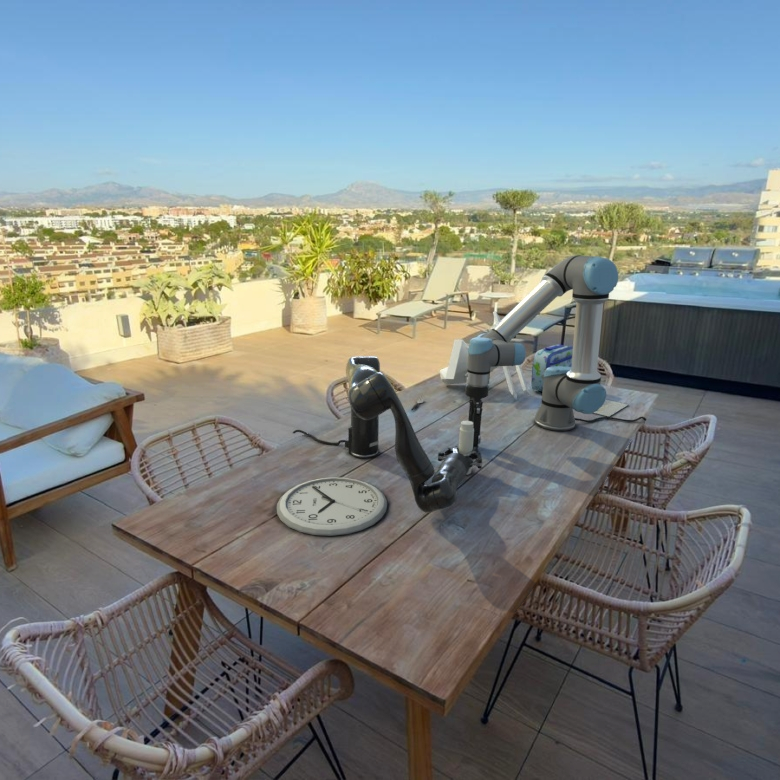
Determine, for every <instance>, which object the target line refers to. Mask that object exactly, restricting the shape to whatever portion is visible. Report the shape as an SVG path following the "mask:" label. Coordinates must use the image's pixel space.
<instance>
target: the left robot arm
mask: <svg viewBox="0 0 780 780" xmlns="http://www.w3.org/2000/svg"><path fill="white" fill-rule="evenodd" d="M345 376H346V380H347V383H348V389H347V390H348V391H347V398H348V399H347V400H348V403H349V405H350V425H349V426H348V427H347V429H348V431H347V432H348V437H347V438H345V439H340V440H338V442H331V441H325V440H323V439H322V440H321V439H318V438H317V437H315V436H314V435H312V434H311V433H308V432H306V431H304V430H301V429H294V431H292V434H296V433H301V434H303V435H305V436H307V437H309V438H312V439H313V440H314V441H316V442H317V443H321V444H324V445H329V446H340V444H341V443H344V448H347V449H348V454H349V455H352V456H353V457H355V458H359V459H369V458H370V459H371V458H374V457H376V456H378V455H379V444H380V440H379V434H380V433H379V432H380V431H379V430H380V429H379V427H380V426H379V425H380V424H379V421H380V419H379V417H380V415H382V414H383V413H385V412H387V411H388V410H390V411H391V413H392V415H393V419H394V423H395V428H394V429H395V438H394V449H395V450H394V451H395V457H396V459H397V462H398V464H399V465H400V467H401V468H402V471H403V472H404V473H405V475H406V477H407V478H408V480H409V484H410V486H411V489H412V492H413V496H414V501H415V505H416V507H417V508H418V509H419V510H420V511H422V512H423V513H426V514H429V513H434V512H437V511H441V510H444V509H447V508H450V507H452V506H453V505H455V503H456V502H457V496H458V495H457V492H458V487H459V485H460V484H462V482H463V481H464V479H465V478H466V474H467V472H468V470H469V468H471V469H472V468H473V466H475V467H477V469H483V468H482V467H483V456H482V452H479V449H477V447H474V448H473V450H472V452H467V453H466V454H460V453H458V449H459V443H458V444H456V445H455V446H454V447H452V448H451V447H446V448H444V449H442V450H441V451H438V452H437V461H438V462H441V463H440V465H439V467H438V468H437V471H436V472H435V467H434V465H433V462H432V461H431V460H430V458H429V456H428V454H427V453H426V451H425V450H424V448H423V446H422V444H421V442H420V441H419V438H418V437H417V434H416V432H415V429H414V428H413V426H412V425H413V424H412V422H411V421H410V418H409V416H408V414H407V412H406V409H405V407H404V406H403V403H402V402H401V399H400V397H399V395H398V394H397V391H396V390H395V388H394V385H392V382H391V381H390V380H389V378H388V377H387V376H386V375H385V374H384V373H382V372H381V363H380V360H379V358H378V357H377V356H372V355H371V356H370V355H369V356H351V357H350V358H349V359H348V360H347V362H346V365H345ZM307 433H308V434H307ZM467 475H468V474H467ZM430 479H431V483H428V484H427V482H428V481H429V480H430Z"/></svg>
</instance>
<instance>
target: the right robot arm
mask: <svg viewBox="0 0 780 780" xmlns="http://www.w3.org/2000/svg"><path fill="white" fill-rule="evenodd" d="M618 283H619V270H618V267H617V266H616V264H615V263H614V262H613V261H612V260H610V259H609V258H606V257H601V256H593V255H581V254H580V255H579V254H575V255H570V256H568V257H566V258H564V259H563V260H561V261H559V262H558V263H557V264H556V265H554V266H553V267H552V268H551V269H550V270H548V271H547V272H546V273H545V274H544V275H542V278H541V282H540V283H539V284H538V285H537V286H536V287H535V288H533V289H532V291H530V292H529V293H528V294H527V295H526V296H525V297H524V298H523V299H522V300H521V301H520V302H519V303H518V304H517V305H516V306H515V307H513V308H512V309H511V311H510V312H508V313H507V314H506V315H505V316H504V317H503V318H502V319H500V322H499V323H498V324H497V325H495V326H493V327H492V329H491V330H490V331H488V332H487V333H481V334H479V335H477V336H476V337H473V338H471V339H470V340H469V344H468V346H469V350H468V367H467V373H468V374H465V377H467V380H466V382H467V383H465V390H464V391H465V392H464V393H465V394H464V395H465V396H466V397H468V398H469V402H468V403H469V408H468V418H467V419H468V420H467V421H471V422H473V426H474V427H473V428H474V439H473V448H474V447H477V449H478V448H479V444H478V438H479V436H481V427H482V426H481V425H482V414H483V406H484V405H483V402H482V399H486V398H488V396H489V390H490V389H489V388H490V387H489V384H490V377H491V372H490V368H491V367H495V366H499V367H502V366H508V367H514V366H515V365H523V363H524V362H525V360H526V356H527V352H526V348H525V346H524V345H523V343H520V342H511V341H512V340H513V339H514V338H515V337H516V336H517V335H518V334H519V333H520V332H521V331H523V329H524V328H526V327H527V326H528V325H529V324H530V323H531V322H532V321H533V320H534V319H535V318H536V317H537V316H538V315H540V314H541V312H542V311H544V310H545V309H546V308H547V307H548V306H549V305H550V304H551V303H552V302H553V301H554V300H555V299H556V298H558V297H560V298H561V297H562V296H563V295H564V294H566V293H567V292H569V291H572V296H571V299H573V300H574V301H575V304H576V306H575V318H574V328H573V329H574V330H573V343H572V347H573V354H572V367H563V366H556V367H549V368H547V369H546V370H545V374H544V382H543V391H541V393H542V394H541V402H540V405H539V407H538V410H537V411H536V413H535V417H534V424H535V425H536V426H537V427H539V428H542V429H544V430H549V431H556V432H567V431H572V430H574V429H575V428H576V421H579V422H584V423H594V422H596V421H599V420H615V421H621V422H625V423H626V422H627V423H634V422H638V421H640V420H642V419H643V420H644V421H647V418H646V417H645V416H639V417H637V418H635V419H624V418H619V417H612V416H609V417H608V416H600V417H597V418H594V419H582V418H577V417H576V416H575V413H574V412H578V413H581V414H583V415H590V414H595V413H594V412H596V411H597V410H598V409H599V408H600V407H602V405H603V404H604V402H605V400H607V390H606V388H604V386H603V385H602V384H601V381H602V380H601V379H602V374H601V373H600V372H599V371H598V365H599V364H598V363H599V353H600V343H601V333H602V322H603V321H602V320H603V313H604V312H603V310H604V309H603V308H604V303H605V302H606V301H608V300H609V297H610V293H612V292H613V291H614V290H615V289H614V288H616V287H617V286H618ZM515 367H516V366H515ZM478 450H479V449H478Z"/></svg>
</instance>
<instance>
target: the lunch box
mask: <svg viewBox="0 0 780 780" xmlns="http://www.w3.org/2000/svg"><path fill="white" fill-rule="evenodd" d="M572 354H573V346H569V345H565V344H554V345H550V346H547V347H544V348H542V349H541V348H540V349H539V350H537V351H536V352H535V353H534V356H533V360H532V367H531V368H532V369H531V382H530V383H531V386H530V387H531V389H532V390H533V391H537V392H542V391H543V382H544V374H545V370H546V369H547V368H549V367H556V366H563V367H572Z"/></svg>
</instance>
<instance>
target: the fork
mask: <svg viewBox="0 0 780 780" xmlns="http://www.w3.org/2000/svg"><path fill="white" fill-rule="evenodd" d="M425 397H426V396H423V395H420V396H419V397H418V398H417V401H416V402H417V403H415V404H414V405H413V406H412V408H411V409H410V410H411V411H413V410H415V409H416V408H417V407H418V405H419V404H423V403H424V401H425Z"/></svg>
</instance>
